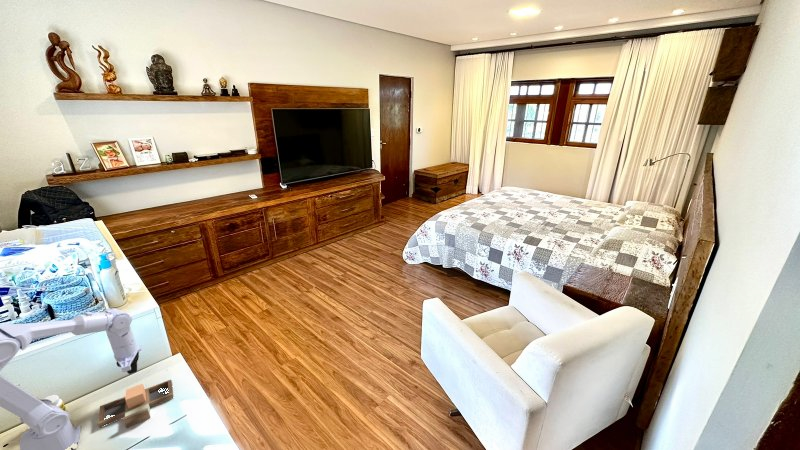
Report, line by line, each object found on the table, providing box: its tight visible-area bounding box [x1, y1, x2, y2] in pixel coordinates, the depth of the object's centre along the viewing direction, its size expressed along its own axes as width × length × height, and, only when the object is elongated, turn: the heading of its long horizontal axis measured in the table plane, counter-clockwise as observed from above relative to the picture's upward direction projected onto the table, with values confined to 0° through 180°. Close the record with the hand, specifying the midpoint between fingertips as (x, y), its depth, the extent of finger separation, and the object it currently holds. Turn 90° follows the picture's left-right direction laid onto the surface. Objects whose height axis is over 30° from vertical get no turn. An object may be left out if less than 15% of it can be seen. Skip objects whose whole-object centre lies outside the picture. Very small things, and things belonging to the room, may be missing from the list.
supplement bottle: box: [43, 394, 69, 413], centre depth 96 cm, size 5×5×8 cm
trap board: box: [97, 379, 174, 428], centre depth 102 cm, size 19×11×4 cm, turn 127°
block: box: [124, 383, 146, 408], centre depth 103 cm, size 4×4×4 cm
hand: (133, 371), depth 106 cm, fingers closed
